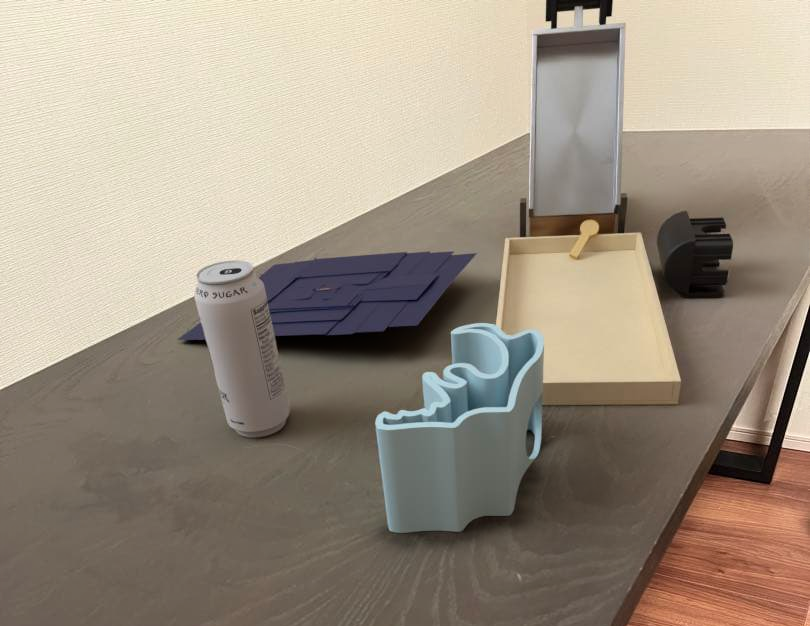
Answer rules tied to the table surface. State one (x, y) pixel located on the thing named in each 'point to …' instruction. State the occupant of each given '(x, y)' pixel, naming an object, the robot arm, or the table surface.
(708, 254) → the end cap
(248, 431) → the energy drink can
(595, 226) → the key
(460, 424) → the squiggly pen holder
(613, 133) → the dish
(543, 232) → the dish stand
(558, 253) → the tray
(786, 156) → the table surface
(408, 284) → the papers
